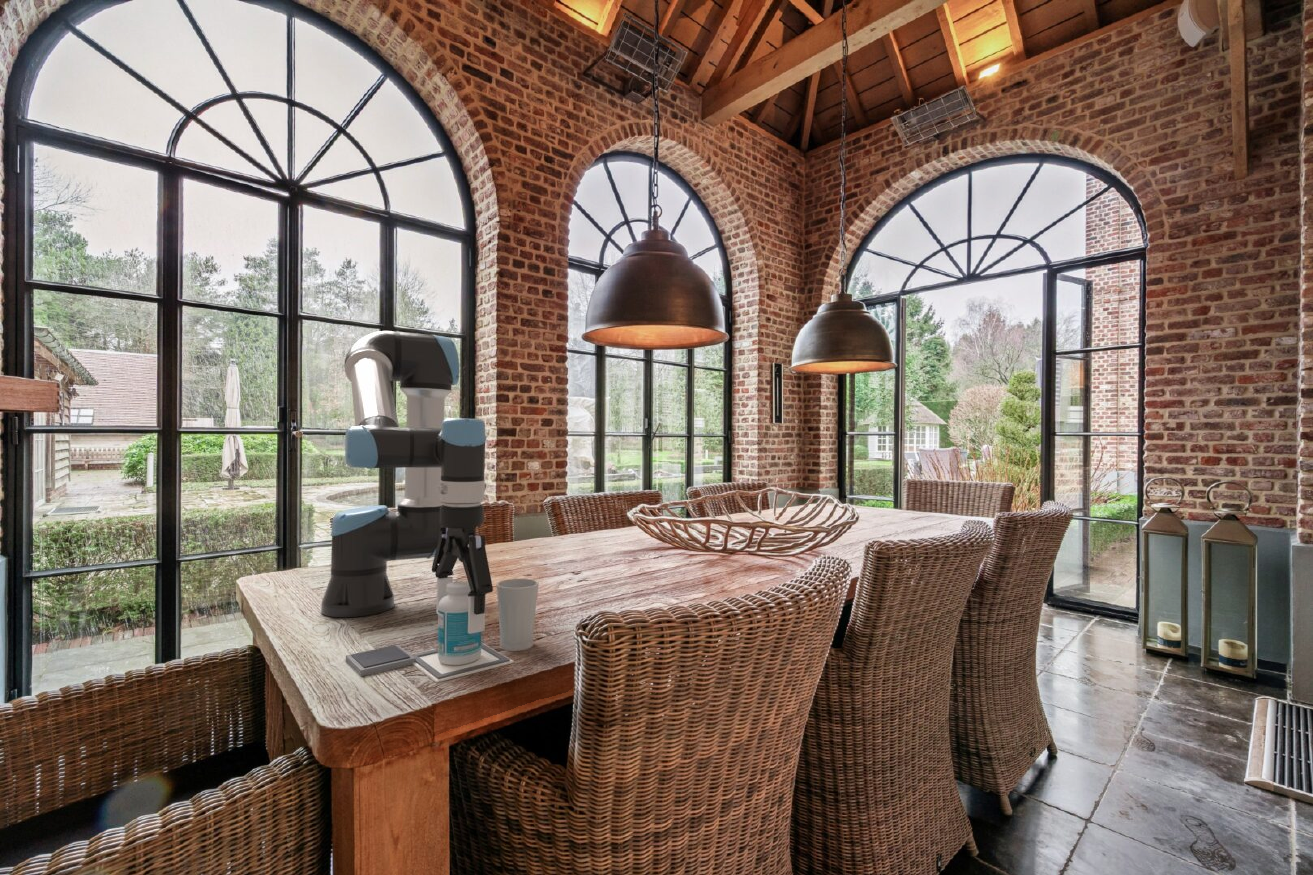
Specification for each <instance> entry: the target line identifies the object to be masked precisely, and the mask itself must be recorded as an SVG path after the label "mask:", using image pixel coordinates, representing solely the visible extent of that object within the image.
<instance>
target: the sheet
mask: <svg viewBox="0 0 1313 875" xmlns="http://www.w3.org/2000/svg"><path fill="white" fill-rule="evenodd" d="M411 655H412V656H414V657H415V658H416V662H413V664H412V665H413V666H414V667H416V668H417V669H418V670H419V671H420V672H422V673H423V674H424V675H426V676H427V677H428V678H429V679H431V680H432V681H434V683H436V684H438V683H441V682H446V681H448V680H449V681H450V680H453V679H457V678H461V677H464V676H468V675H473V674H476V673H479V672H480V673H481V672H484V671H487V670H491V669H496V668H499V667H503V666H506V665H507V666H508V665H510V664H513V663H514V662H515V661H514V660H513V659H511V658H509V657H507V656H506V655H504V654H503V653H501V652H498V651H497V650H495V649H494V648H492V647H491V646H488V645H487V644H485V643H483V642H481V655H480V657H479V658H478V659H477V660H475V661H473V662H471V663H468V664H463V665H447V664H443V663H441V662H440V661H439V659H438V648H437V649H433V650H428V651H423V652H418V653H415V654H411ZM514 664H515V663H514Z"/></svg>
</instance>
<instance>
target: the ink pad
mask: <svg viewBox="0 0 1313 875" xmlns="http://www.w3.org/2000/svg"><path fill="white" fill-rule="evenodd" d="M412 655H413V654H411V653H409V651H407V650H405V649H404V648H403V647H402V646H400V645H399V644H394V645H390V646H385V647H381V648H375V649H370V650H366V651H361V652H357V653H356V652H355V653H352V654H346V655H345V662H346V663H347V665H349V666H350V667H351V668H352V669H353V670H354V671H355V673H357V674H358V675H359V676H360V677H363V676H368V675H372V674H377V673H381V672H386V671H389V670H394V669H398V668H403V667H407V666H412V665H413V662H416V658H415V657H414V656H412Z"/></svg>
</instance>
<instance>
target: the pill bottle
mask: <svg viewBox="0 0 1313 875" xmlns="http://www.w3.org/2000/svg"><path fill="white" fill-rule="evenodd" d="M470 591H471V590H470V586H469V583H468V580H466V581H465V580H464V581H463V580H461V581H460V580H459V581H453V582H452V583H449V584H447V593H448V595H447V596H445V597H443V598H442V599H441V600H440V602H439V604H438V614H437V616H438V617H437V620H438V621H437V649H438V659H439V661H440V662H441V663H443V664H447V665H463V664H468V663H471V662H473V661H475V660H477V659H478V658H479V657H480V655H481V643H482V631H481V632H476V633H471V634H469V633H468V603H469V596H468V594H469V592H470Z"/></svg>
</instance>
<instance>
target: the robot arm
mask: <svg viewBox="0 0 1313 875" xmlns="http://www.w3.org/2000/svg"><path fill="white" fill-rule="evenodd" d="M459 359H460V358H459V354H458V349H457V347H456V344H455V342H454V341H453V339H451V338H449V337H448V336H447V337H446V336H442V335H436V334H425V333H416V332H415V333H414V332H413V333H412V332H402V331H401V332H400V331H392V330H382V331H381V330H379V331H375V332H372V333H369V334H367V335H365V336H363V337H362V338H360V339H358V340H357V341H356V342H355V343H353V344H352V346H351V347H350V348H349V349H348V351H347V353H346V356H345V358H344V372H345V373H344V374H345V376H346V378H347V380H348V381H349V382H350V383H351V393H352V394H351V395H352V405H353V415H354V417H353V418H354V426H349V427H348V428H347V429H346V430H345V440H344V441H345V442H344V453H345V454H344V455H345V456H344V458H345V459H344V460H345V463H346V465H347V466H349V467H350V468H357V469H358V468H360V469H361V468H362V469H369V470H370V469H371V470H372V469H391V468H392V469H394V468H395V469H397V468H398V469H399V468H405V470H404V496H403V497H402V498H401V499H400V500H399V501H398V502H397V510H394V511H393V510H391V511H390V510H389V508H388V506H387V505H383V504H382V505H381V504H380V505H367V506H359V507H356V508H354V507H353V508H351V509H346V510H343V511H340V512H338V513H336V514H335V515H333V517H332V521H331V532H330V536H331V553H330V554H331V556H330V557H331V558H330V577H329V578H330V579H329V582H328V583H327V586H326V589H325V592H324V594H323V597H322V600H321V605H320V606H321V607H320V608H321V610H320V612H321V614H322V615H324V616H327V617H332V618H353V617H354V618H357V617H365V616H371V615H376V614H379V613H380V614H381V613H383V612H387V611H389V610H391V609H393V608H394V606H395V595H394V592H393V589H392V586H391V583H390V579H389V577H388V573H387V571H388V570H387V568H388V567H387V563H388V562H393V561H403V560H417V559H427V560H428V559H432V558H433V561H432V565H431V571H432V573H435V577H436V578H437V579H436V608H435V610H436V612H435V613H436V614H437V615H438V604H439V602H440V600H441V599H442V598H443V597H445V596H447V595H448V593H447V584H449V583H452V582H454V581H453V580H454V578H453V577H452V576H454V571H453V570H454V568H455V565H456V563H457V561H459V562H461V563H462V566H463V569H464V573H465V577H466V578H467V580H466V581H468V583H469V586H470V590H471V591H470V592H469V594H468V596H469V603H468V633H469V634H471V633H476V632H481V633H482V632H485V630H486V626H485V625H486V624H485V623H486V595H487V594H489V593H493V591H494V588H493V581H492V577H491V571H490V566H489V561H488V556H487V549H486V537H485V535H484V534H482V535H481V534H480V535H477V533H476V528H477V527H481V526H483V524H484V513H485V509H484V508H485V507H484V505H482V503H483V502H484V501H485V487H486V486H485V484H486V483H485V482H486V480H485V468H486V467H485V464H486V463H485V462H486V461H485V459H486V441H487V436H486V424H485V421H484V420H482V419H480V418H461V417H460V418H456V417H446V418H445V401H446V398H447V397H448V396H449V395H450V394H451V393H452V386H455V385H456V386H457V384H458V383H459V381H460V372H461V371H460V360H459ZM391 382H400V383H399V385H400V389H399V390H400V391H401V392H402V394H404V395H405V396H406V419H405V420H406V422H405V423H406V424H405V425H406V427H401V426H400V425H399V420H398V415H397V409H396V405H395V399H394V395H393V394H394V393H393V390H392V384H391Z"/></svg>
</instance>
